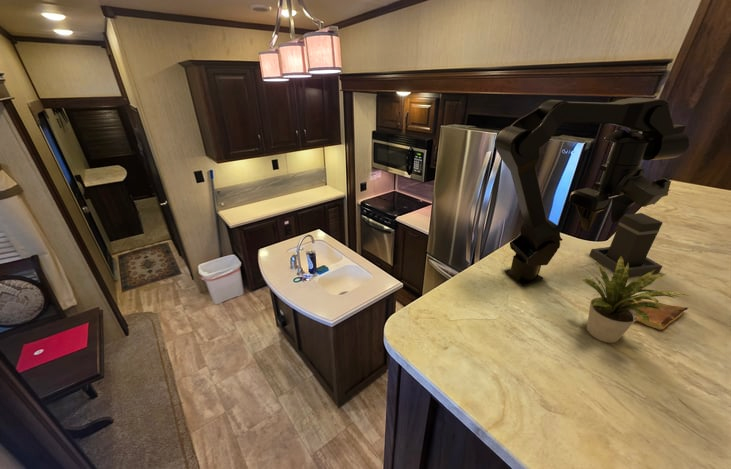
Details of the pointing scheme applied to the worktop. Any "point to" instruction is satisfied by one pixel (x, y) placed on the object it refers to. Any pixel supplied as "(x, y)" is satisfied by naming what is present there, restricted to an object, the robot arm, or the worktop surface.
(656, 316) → the shard
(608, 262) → the base pad
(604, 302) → the house plant
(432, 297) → the worktop surface
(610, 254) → the dark banded block
